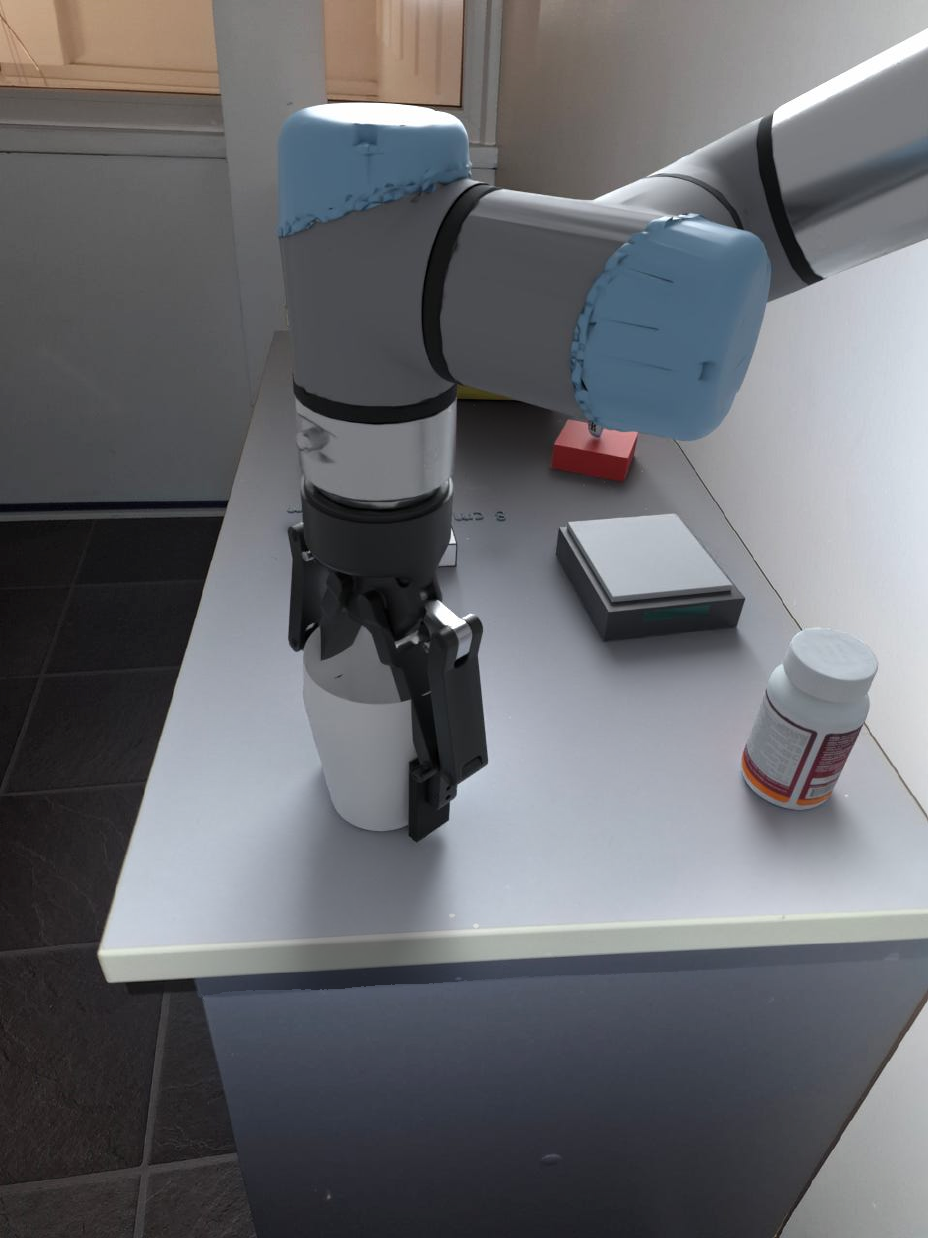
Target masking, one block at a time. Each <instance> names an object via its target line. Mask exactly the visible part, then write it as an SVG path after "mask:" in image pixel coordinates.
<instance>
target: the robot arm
mask: <svg viewBox="0 0 928 1238" xmlns="http://www.w3.org/2000/svg"><path fill="white" fill-rule="evenodd" d="M282 124H283V125H282V126H281V128H280V130H279V133H278V138H277V205H278V206H277V207H278V214H277V215H278V225H277V226H276V228H275V232H276V239H278V242H279V252H280V260H281V267H282V268H281V269H282V278H283V286H284V295H285V304H286V313H287V322H288V329H289V339H290V349H291V359H292V360H291V361H292V369H291V375H292V389H293V394H294V403H295V404H294V405H295V418H296V419H295V420H296V436H295V438H294V440H295V445H296V447H297V450H298V466H299V470H300V473H301V474H302V475H303V476H302V477H301V480H300V484H299V485H300V486H299V491H300V503H301V504H300V505H301V509H302V513H301V514H302V515H301V517H302V521H301V522H298V523H296V524H293V525H291V526H289V527H288V528H287V537H288V541H289V546H290V554H291V559H292V562H291V579H290V595H289V596H290V598H289V612H288V613H289V617H288V629H287V631H288V632H287V633H288V634H287V640H288V645H289V648H291V649H292V650H293V651H294V652H295V653H298V652H300V651H302V652H303V651H304V647H305V644H306V642H307V640H308V638H309V637H310V635H311V634H312V633H313V632H314V631H315V629H316V628H318V627H319V626H320V634H321V661H322V660H326V659H329V658H331V657H333V656H335V655H337V654H339V653H341V652H343V651H344V650H346V649H347V648H349V647H350V646H352V645H353V643H354V641H355V639H356V637H357V635H358V632H359V630H360V628H361V626H364V627H366V629H367V630H368V631H369V632H370V633H371V634H372V637H373V640H374V644H375V647H376V650H377V653H378V656H379V660H380V662H381V663H382V664H384V665H388V666H390V668H391V671H392V674H393V678H394V681H395V684H396V687H397V691H398V694H399V697H400V701H401V702H403V701H408V700H411V718H412V736H413V743H414V746H415V750H416V753H417V756H418V758H416V759H415V760H413V761H411V762H410V763H409V813H408V825H407V836H408V837H409V838H410V839H411V840H412V841H413V842H414V843H415V844H418V843H419V842H421V841H422V840H423V839H424V838H426V837H427V836H429V835H430V834H431V833H433V832H435V831H436V830H437V829H439V828H440V827H442V826H443V825H445V824H446V823H447V822H449V821H450V812H451V811H450V810H451V808H450V807H451V801H453V800H454V799H456V797H457V796H458V795H457V794H458V785H460V784H461V783H462V782H464V781H466V780H467V779H468V778H470V777H471V776H473V775H474V774H476V773H477V772H479V771H480V770H483V768H485V767H487V765H489V753H488V744H487V736H486V735H487V733H486V732H487V731H486V723H485V712H484V704H483V691H482V682H481V672H480V671H481V670H480V662H479V652H480V647H481V643H482V639H483V634H484V625H483V622H482V620H481V619H480V617H479V616H478V615H476V614H475V613H469V614H467V615H465V616H463V617H461V618H459V617H458V616H457V615H456V614H455V613H454V612H453V611H452V610H450V609H449V608H448V607H447V606H446V605H445V604H444V603H443V592H442V590H441V586H440V584H439V578H438V569H439V567H438V565H439V563H440V561H441V559H442V557H443V555H444V553H445V551H446V549H447V547H448V545H449V543H450V539H451V526H452V527H453V524H452V523H453V522H452V521H453V500H454V499H453V498H454V481H453V479H452V476H453V474H454V472H455V466H456V448H457V447H456V444H457V443H456V441H457V413H458V411H457V410H458V409H457V406H458V402H457V401H458V398H457V386H458V384H459V385H462V386H470V387H474V388H477V389H480V390H484V391H487V392H491V393H494V394H498V395H501V396H505V397H508V398H511V399H515V400H514V401H517V402H518V401H519V402H522V403H526V404H529V405H532V406H536V407H540V408H543V409H547V410H550V411H553V412H556V413H560V414H564V415H567V416H571V417H574V418H578V419H581V420H584V421H587V422H588V421H591V422H593V423H594V424H595V425H599V426H601V427H602V428H605V429H607V430H616V431H620V432H631V431H633V432H638V434H644V435H648V436H649V435H650V436H656V437H660V438H666V439H670V440H675V441H680V442H692V441H697V440H700V439H703V438H705V437H708V436H709V435H710V434H712V433H713V432H714V431H716V429H718V428H719V426H721V424H722V423H723V422H724V420H725V419H726V417H727V415H728V414H729V413H730V410H731V408H732V406H733V404H734V400H735V398H736V395H737V393H739V392H740V390H741V388H742V385H743V383H744V380H745V378H746V375H747V372H748V370H749V367H750V364H751V362H752V359H753V355H754V353H755V350H756V346H757V342H758V339H759V336H760V332H761V328H762V324H763V321H764V318H765V313H766V308H767V304H768V303H770V302H773V301H776V300H778V299H781V298H783V297H786V296H789V295H791V294H794V293H796V292H798V291H801V290H804V289H805V288H807V287H810V286H812V285H814V284H816V283H819V282H821V281H824V280H826V279H828V278H830V277H833V276H835V275H838V274H839V273H842V272H845V271H847V270H848V271H849V270H850V269H853V268H855V267H858V266H860V265H864V264H866V263H868V262H871V261H874V260H876V259H879V258H882V257H884V256H886V255H889V254H892V253H894V252H897V251H899V250H902V249H906V248H907V247H910V246H912V245H915V244H918V243H920V242H923V241H926V240H928V28H926V29H925V30H922V31H920V32H919V33H916V34H915V35H913V36H911V37H909V38H907V39H906V40H904V41H901V42H900V43H898V44H896V45H893V46H892V47H890V48H888V49H887V50H885V51H882V52H881V53H879V54H877V55H875V56H873V57H872V58H869V59H868V60H866V61H863V62H862V63H860V64H858V65H857V66H855V67H853V68H851V69H849V70H847V71H846V72H843V73H841V74H840V75H838V76H836V77H834V78H832V79H830V80H828V81H827V82H824V83H822V84H820V85H819V86H817V87H815V88H813V89H811V90H810V91H807V92H806V93H804V94H801V95H800V96H798V97H796V98H795V99H792V100H791V101H788V102H787V103H785V104H783V105H780V106H779V107H778V108H777V109H776V110H773V111H772V112H770V113H768V114H766V115H764V116H762V117H760V118H758V119H755V120H753V121H751V122H749V123H747V124H744V125H743V126H741V127H739V128H738V129H735V130H733V131H731V132H730V133H728V134H726V135H724V136H722V137H720V138H719V139H717V140H714V141H713V142H711V143H709V144H707V145H705V146H704V147H702V148H699V149H696V150H695V151H692V152H690V153H688V154H686V155H685V156H683V157H680V158H679V159H677V160H676V161H672V162H671V163H670V164H668V165H666V166H665V167H663V168H660V169H658V170H657V171H655V172H653V173H651V174H649V175H646V176H645V177H641V178H639V179H637V180H634V181H632V182H630V183H628V184H627V185H625V186H622V187H620V188H617V189H615V190H612V191H610V192H608V193H605V194H604V195H601V196H599V197H597V198H595V199H592V200H591V199H574V198H568V197H561V196H554V195H546V194H539V193H533V192H525V191H519V190H512V189H508V188H505V187H500V186H493V185H491V184H489V183H488V182H483V181H478V180H474V179H472V176H473V174H472V167H473V163H472V162H471V160H470V146H469V143H470V142H469V135H468V132H467V130H466V128H465V125H464V123H462V121H461V120H460V119H459V118H457V116H455V115H452V114H450V113H448V112H444V111H435V110H434V109H432V108H429V107H423V106H417V105H407V104H399V103H398V104H397V103H384V102H383V103H382V102H381V103H380V102H340V103H327V104H317V105H313V106H308V107H304V108H302V109H300V110H298V111H296V112H294V113H293V114H291V115H290V116H289V117H288V118H287V119H286V120H285V121H284V123H282ZM417 630H418V633H417V634H416V635H415V636H414V637H412V638H410V639H408V640H406V641H404V642H402V643H400V644H398V645H395V642H396V641H399V640H401V639H403V638H405V637H407V636H409V635H410V634H412V633H414V632H416V631H417ZM340 676H341V675H340ZM340 676H338V677H340ZM338 677H336V678H338ZM334 679H335V678H334ZM430 691H431V692H430ZM428 692H430V693H429V694H426V693H428ZM424 694H426V695H424ZM422 695H423V696H422Z"/></svg>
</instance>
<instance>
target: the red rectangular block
mask: <svg viewBox="0 0 928 1238" xmlns="http://www.w3.org/2000/svg"><path fill="white" fill-rule="evenodd" d="M638 437H639V433H638V432H633V431H631V432H620V431H616V430H607V429H605V428H602V427H601V426H599V425H595V424H594V423H593V422H591V421H587V422H584V421H579V420H573V419H567V420H566V422H565V424H564V426H563V428H562V430H561V431H560V432H559V434H558V437H557V438H556V439H555V441H554V443H553V447H552V457H551V466H550V469H555V470H560V471H566V472H572V473H577V474H582V475H586V476H590V477H591V476H592V477H596V478H601V479H605V480H610V481H611V480H612V481H616V482H620V483H621V482H622V483H624V482H625V479H626V477H627V474H628V471H629V469H630V466H631V464H632V462H633V459H634V456H635V452H636V448H637V441H638Z"/></svg>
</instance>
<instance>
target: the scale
mask: <svg viewBox="0 0 928 1238" xmlns="http://www.w3.org/2000/svg"><path fill="white" fill-rule="evenodd" d="M566 524H567V525H566V526H559V527H558V531H557V538H556V539H557V540H556V546H555V556H556V558H557V561H558V562H559V564H560V566H561V567H562V569H563V571H564V573H565V575H566V577H567V578H568V580H569V582H570V584H571V585H572V587H573V590H574V592H575V593H576V595H577V597H578V598H579V600H580V602H581V604H582V606H583V607H584V609H585V611H586V612H587V614H588V616H589V618H590V620H591V622H592V624H593V626H594V627H595V629H596V631H597V633H598V635H599V637H600V638H601V640H602V642H611V641H620V640H629V639H638V638H646V637H655V636H663V635H664V636H665V635H673V634H675V635H676V634H682V633H683V634H684V633H693V632H700V631H701V632H702V631H709V630H711V631H712V630H719V629H720V630H721V629H728V628H736V627H738V624H739V621H740V617H741V614H742V611H743V608H744V605H745V602H746V597H745V596H744V595H743V593H742V592H741V591H740V590H739V588H738V587H737V586H736V584H735V583H734V582H733V581H732V580H731V578H730V577H729V576H728V575H727V573H726V572H725V571H724V570H723V568H722V567H721V566H720V565H719V563H718V562H717V560H715V559H714V557H713V556H712V555H711V554H710V552H709V551H708V550H707V549H706V547H705V546H704V545H703V544H702V542H701V541H700V540H699V539H698V538H697V536H696V535H695V534H694V533H693V531H692V530H691V529H690V528H689V526H688V525H687V524H686V523H685V521H684V520H683V518H681V517H679V516H678V514H677V513H663V514H652V515H639V516H627V517H616V518H603V519H602V518H601V519H589V520H577V521H568V522H567V523H566Z"/></svg>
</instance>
